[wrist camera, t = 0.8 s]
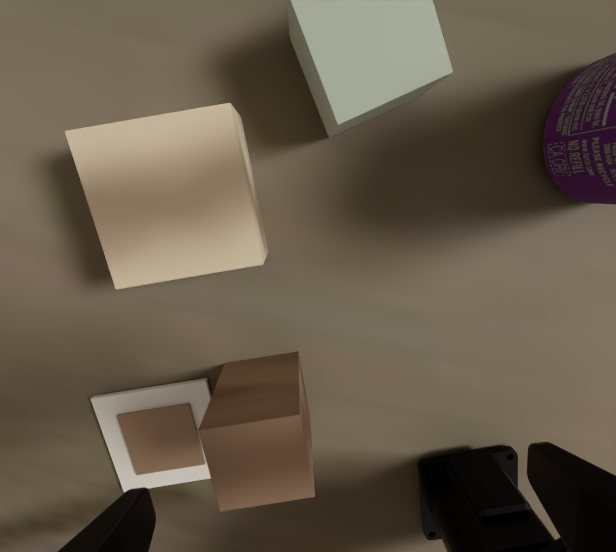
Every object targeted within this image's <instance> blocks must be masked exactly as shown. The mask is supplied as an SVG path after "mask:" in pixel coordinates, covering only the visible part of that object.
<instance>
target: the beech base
mask: <svg viewBox="0 0 616 552" xmlns="http://www.w3.org/2000/svg"><path fill="white" fill-rule="evenodd" d="M65 134H66V137H67V140H68V143H69V146H70V149H71V152H72V155H73V158H74V161H75V165H76V168H77V171H78V174H79V177H80V180H81V183H82V186H83V189H84V192H85V196H86V199H87V202H88V205H89V208H90V211H91V214H92V217H93V220H94V224H95V227H96V230H97V233H98V236H99V239H100V242H101V245H102V248H103V251H104V255H105V258H106V261H107V264H108V267H109V270H110V273H111V276H112V279H113V282H114V286H115V289H122V288H128V287H134V286H139V285H145V284H151V283H157V282H163V281H169V280H175V279H181V278H187V277H192V276H198V275H204V274H210V273H216V272H222V271H228V270H234V269H239V268H245V267H251V266H257V265H263V263H264V261H265V258H266V256H267V253H268V249H267V244H266V239H265V234H264V229H263V224H262V219H261V214H260V209H259V204H258V199H257V194H256V188H255V183H254V178H253V173H252V168H251V163H250V158H249V153H248V148H247V143H246V138H245V133H244V128H243V123H242V118H241V116H240V115H239V114H238V112H237V111H236V110H235V109H234V107H233V106H232V105H231V103H226V104H220V105H214V106H208V107H202V108H196V109H191V110H185V111H179V112H173V113H167V114H162V115H156V116H150V117H144V118H138V119H132V120H127V121H121V122H115V123H109V124H103V125H98V126H92V127H86V128H80V129H74V130H68V131H65Z"/></svg>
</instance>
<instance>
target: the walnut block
mask: <svg viewBox="0 0 616 552" xmlns="http://www.w3.org/2000/svg"><path fill="white" fill-rule="evenodd" d="M198 433H199V436H200V440H201V443H202V447H203V451H204V454H205V458H206V462H207V465H208V469H209V473H210V476H211V480H212V484H213V487H214V491H215V494H216V498H217V502H218V505H219V509H220V512H221V511H228V510H234V509H240V508H247V507H253V506H260V505H266V504H272V503H279V502H285V501H291V500H298V499H304V498H311V497H315V489H314V474H313V458H312V443H311V428H310V414H309V409H308V403H307V397H306V392H305V386H304V380H303V375H302V369H301V363H300V357H299V352H293V353H287V354H280V355H274V356H268V357H261V358H255V359H249V360H242V361H236V362H230V363H225V364H224V367H223V369H222V372H221V374H220V377H219V379H218V382H217V384H216V387H215V389H214V392H213V394H212V397H211V399H210V402H209V404H208V407H207V409H206V412H205V414H204V417H203V419H202V422H201V424H200V427H199V429H198Z"/></svg>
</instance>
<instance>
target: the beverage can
mask: <svg viewBox="0 0 616 552" xmlns="http://www.w3.org/2000/svg"><path fill="white" fill-rule="evenodd" d="M543 148H544V157H545V162H546V165H547V168H548V171H549V173H550V175H551V177H552V179H553V180H554V182H555V183H556V184H557V185H558V186H559V188H560V189H561V190H563V191H564V192H565V193H566V194H568V195H569V196H571V197H573V198H575V199H577V200H580V201H584V202H588V203H601V204H616V53H615V54H612V55H610V56H607V57H605V58H603V59H600V60H598V61H596V62H594V63H592V64H590V65H589V66H587V67H586V68H584V69H583V70H581V71H580V72H579V73H578V74H577V75H576V76H574V77H573V78H572V79H571V80H570V81H569V82H568V84H567V85H566V86H565V87H564V89H563V90H562V91H561V93H560V94H559V96H558V97H557V99H556V101H555V102H554V104H553V106H552V109H551V111H550V113H549V116H548V119H547V122H546V126H545V131H544V141H543Z"/></svg>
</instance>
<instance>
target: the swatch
mask: <svg viewBox="0 0 616 552" xmlns="http://www.w3.org/2000/svg"><path fill="white" fill-rule="evenodd" d="M211 397H212V396H211V392H210V388H209V384H208V380H207V378H203V379H197V380H191V381H184V382H178V383H172V384H166V385H159V386H153V387H147V388H140V389H134V390H128V391H121V392H115V393H109V394H102V395H96V396H93V397H92V398H91V402H92V405H93V408H94V410H95V413H96V416H97V419H98V422H99V424H100V427H101V430H102V433H103V436H104V438H105V441H106V444H107V447H108V450H109V452H110V455H111V458H112V461H113V464H114V466H115V469H116V472H117V475H118V477H119V480H120V483H121V486H122V489H123V491H124V492H126V491H128V490H129V489H134V488H143V487H145V488H153V487H160V486H166V485H172V484H178V483H185V482H191V481H197V480H204V479H210V478H211V476H210V473H209V469H208V465H207V462H206V458H205V454H204V451H203V447H202V443H201V440H200V436H199V433H198V429H199V427H200V424H201V422H202V419H203V417H204V414H205V412H206V409H207V407H208V404H209V402H210V399H211Z"/></svg>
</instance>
